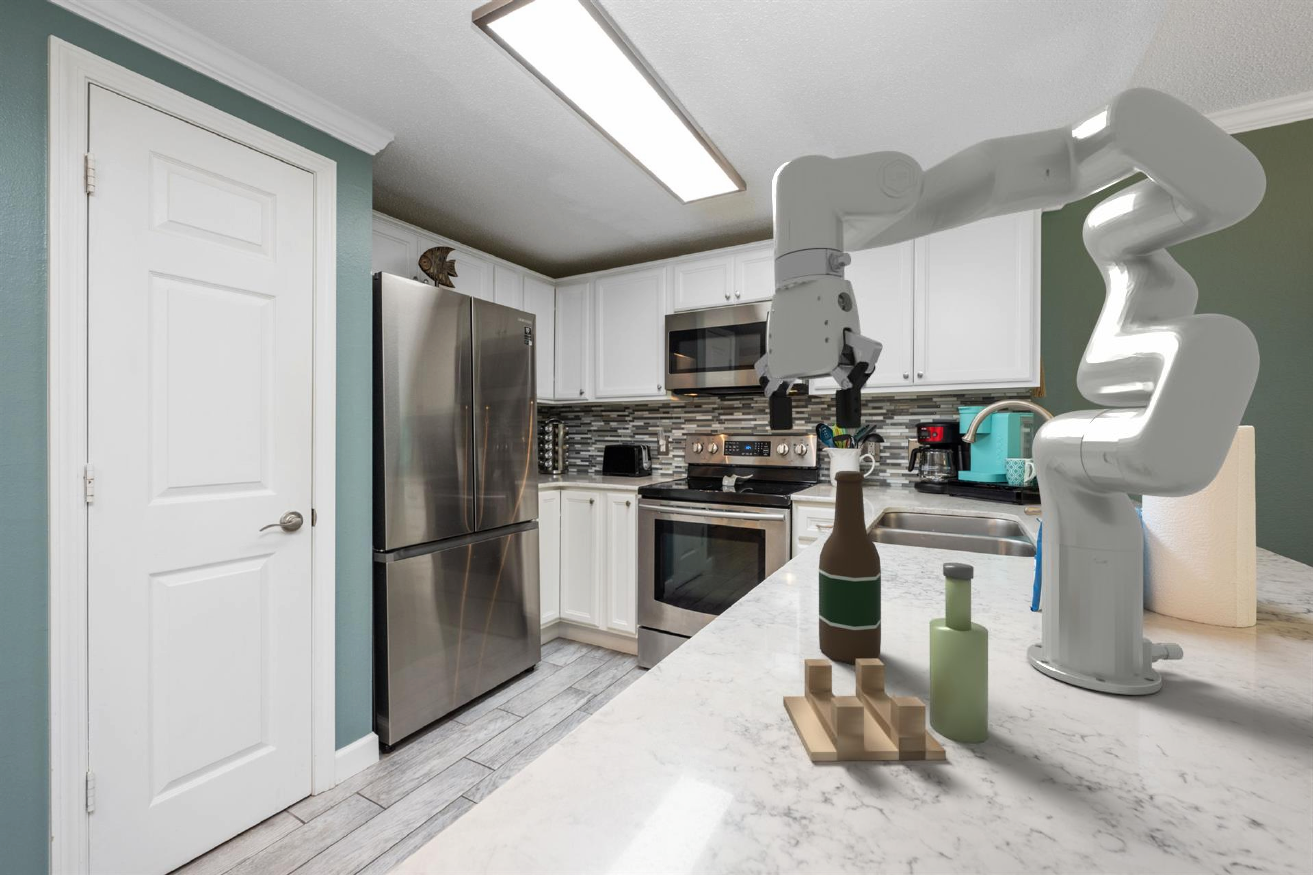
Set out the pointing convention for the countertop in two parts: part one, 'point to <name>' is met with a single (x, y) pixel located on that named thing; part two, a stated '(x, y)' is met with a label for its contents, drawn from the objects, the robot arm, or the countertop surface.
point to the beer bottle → (849, 580)
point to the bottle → (958, 663)
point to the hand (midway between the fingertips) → (812, 429)
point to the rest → (859, 718)
